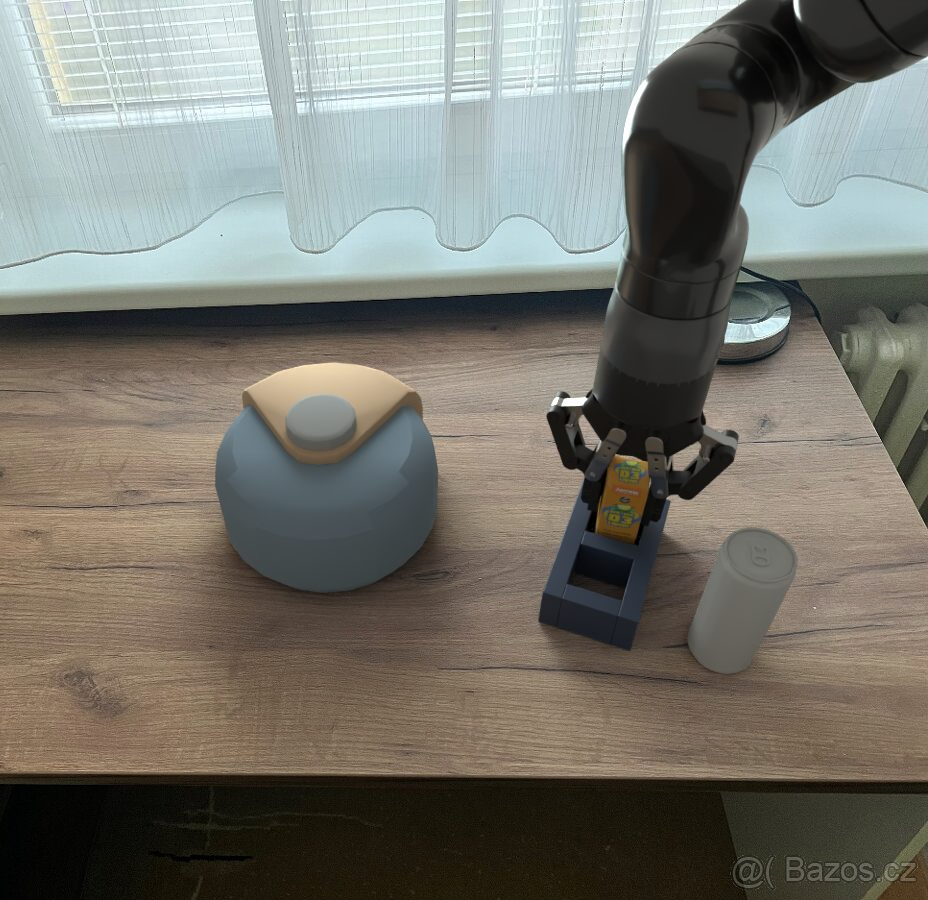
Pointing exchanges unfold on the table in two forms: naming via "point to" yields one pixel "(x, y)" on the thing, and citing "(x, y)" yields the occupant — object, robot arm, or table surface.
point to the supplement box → (623, 499)
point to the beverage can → (741, 599)
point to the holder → (600, 579)
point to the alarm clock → (328, 476)
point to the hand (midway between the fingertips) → (620, 510)
